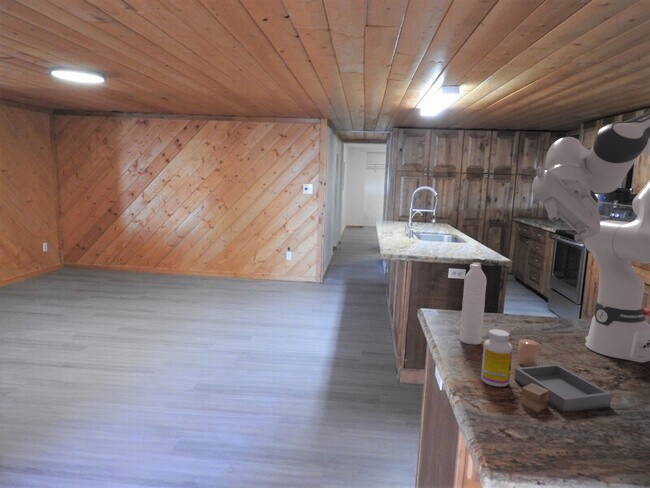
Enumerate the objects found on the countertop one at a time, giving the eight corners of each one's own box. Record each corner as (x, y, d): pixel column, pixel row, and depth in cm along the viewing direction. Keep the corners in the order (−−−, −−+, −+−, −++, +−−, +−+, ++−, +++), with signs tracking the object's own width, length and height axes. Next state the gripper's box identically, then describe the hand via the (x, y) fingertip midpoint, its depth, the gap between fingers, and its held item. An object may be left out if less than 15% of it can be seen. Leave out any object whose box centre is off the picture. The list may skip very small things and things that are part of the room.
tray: (555, 375, 113) (557, 364, 112) (609, 406, 98) (611, 393, 97) (514, 379, 110) (515, 368, 109) (563, 412, 94) (564, 399, 94)
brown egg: (528, 358, 123) (530, 338, 122) (541, 366, 118) (543, 345, 117) (513, 360, 122) (515, 339, 121) (525, 367, 117) (527, 346, 116)
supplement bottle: (511, 389, 104) (516, 338, 102) (483, 386, 106) (487, 335, 104) (506, 377, 111) (510, 329, 109) (479, 374, 112) (483, 326, 110)
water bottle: (461, 336, 140) (467, 260, 136) (483, 340, 137) (489, 262, 133) (456, 344, 132) (462, 264, 128) (478, 349, 129) (485, 267, 125)
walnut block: (530, 399, 100) (532, 383, 99) (547, 407, 97) (549, 390, 96) (520, 404, 98) (522, 387, 97) (537, 412, 94) (539, 395, 94)
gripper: (550, 156, 100) (550, 198, 92) (604, 204, 106) (608, 248, 98) (526, 169, 105) (524, 210, 97) (579, 215, 111) (581, 257, 103)
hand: (567, 230), depth 98 cm, fingers open, 8 cm apart
